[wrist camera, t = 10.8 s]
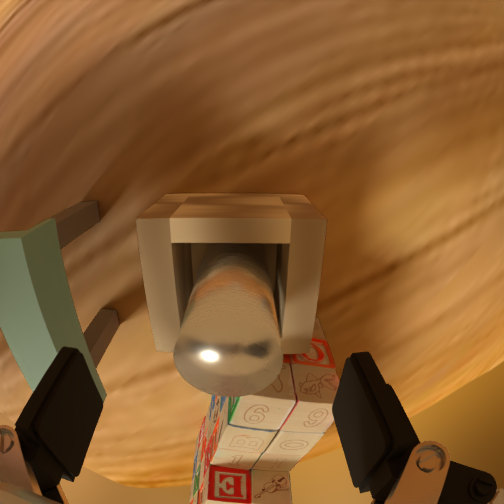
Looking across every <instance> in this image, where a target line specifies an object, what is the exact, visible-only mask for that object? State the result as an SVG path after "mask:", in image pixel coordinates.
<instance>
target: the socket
mask: <svg viewBox="0 0 504 504" xmlns="http://www.w3.org/2000/svg"><path fill="white" fill-rule="evenodd" d="M136 227H137V236H138V245H139V253H140V261H141V268H142V275H143V282H144V288H145V294H146V300H147V306H148V311H149V317H150V322H151V327H152V332H153V337H154V342H155V346H156V351H163V352H174V347H175V344H176V340H177V337H178V334H179V331H180V327H181V324H182V321H183V318H184V315H185V311H186V308H187V305H188V302H189V299H190V296H191V293H192V290H193V286H194V283H195V280H196V277H197V274H198V271H199V268H200V265H201V262H202V259H203V256H204V253H205V251H206V248H207V245H208V243H263V245H264V247H265V250H266V256H267V262H268V268H269V274H270V280H271V286H272V292H273V298H274V304H275V310H276V317H277V323H278V329H279V335H280V342H281V348H282V354H302V353H309V352H310V347H311V341H312V335H313V328H314V322H315V316H316V309H317V302H318V295H319V287H320V280H321V272H322V264H323V255H324V246H325V237H326V227H327V219H326V218H325V217H324V216H323V215H322V214H321V213H320V212H319V210H318V209H317V208H316V207H315V206H314V205H313V204H312V203H311V202H310V201H309V200H308V199H307V198H306V197H305V196H304V195H301V194H265V193H186V194H166V195H164V196H163V197H162V198H161V199H159V200H158V201H157V202H156V203H154V204H153V205H152V206H151V207H149V208H148V209H147V210H146V211H145V212H143V213H142V214H141V215H140V216H138V217H137V218H136Z"/></svg>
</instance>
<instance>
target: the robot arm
mask: <svg viewBox="0 0 504 504" xmlns="http://www.w3.org/2000/svg"><path fill="white" fill-rule="evenodd" d="M102 409H103V400H102V398H101V396H100V394H99V391H98V389H97V387H96V385H95V382H94V380H93V378H92V375H91V373H90V370H89V368H88V366H87V363H86V360H85V358H84V355H83V354H82V353H80V351H79V350H78V349H77V348H72V347H66V346H64V347H62V348H61V349H60V351H59V352H58V354H57V355H56V357H55V358H54V360H53V362H52V363H51V365H50V366H49V368H48V369H47V371H46V372H45V374H44V376H43V377H42V379H41V380H40V382H39V384H38V385H37V387H36V389H35V390H34V392H33V394H32V395H31V397H30V399H29V400H28V402H27V404H26V406H25V407H24V409H23V411H22V413H21V414H20V416H19V418H18V420H17V422H16V423H15V426H16V428H15V430H14V429H13V428H12V427H10V426H7V425H0V504H69V503H68V501H67V499H66V497H65V494H64V492H63V490H62V488H61V485H60V480H61V478H63V479H66V480H69V481H72V482H74V479H75V477H77V476H78V475H79V474H80V471H81V468H82V465H83V462H84V459H85V456H86V453H87V450H88V447H89V444H90V442H91V439H92V436H93V433H94V431H95V428H96V425H97V423H98V420H99V417H100V415H101V412H102ZM332 414H333V417H334V420H335V424H336V427H337V430H338V434H339V437H340V441H341V444H342V447H343V451H344V454H345V457H346V461H347V464H348V468H349V471H350V475H351V478H352V482H353V485H354V487H356V488H357V487H359V490H360V493H363V492H368V491H370V492H371V495H372V498H373V501H372V502H371V504H504V489H502V488H501V489H500V490H497V486H496V481H495V479H494V477H493V476H492V475H491V474H489V473H487V472H484V471H480V470H477V469H474V468H471V467H468V466H465V465H462V464H459V463H456V462H453V461H450V455H449V452H448V450H447V449H446V447H444V446H443V445H442V444H440V443H438V442H435V441H424V442H422V443H420V441H419V439H418V437H417V435H416V433H415V431H414V429H413V427H412V425H411V423H410V421H409V419H408V417H407V415H406V413H405V411H404V409H403V407H402V405H401V403H400V401H399V399H398V397H397V395H396V393H395V392H394V390H393V388H392V387H391V385H389V384H386V383H385V381H384V379H383V377H382V375H381V373H380V371H379V369H378V367H377V366H376V364H375V362H374V360H373V358H372V356H371V354H370V353H369V352H359V353H352V355H351V357H350V358H347V359H346V362H345V365H344V369H343V372H342V376H341V379H340V383H339V386H338V389H337V393H336V396H335V399H334V402H333V405H332Z"/></svg>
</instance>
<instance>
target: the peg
mask: <svg viewBox="0 0 504 504" xmlns="http://www.w3.org/2000/svg"><path fill="white" fill-rule="evenodd" d="M173 356H174V362H175V365H176V368H177V370H178V371H179V373H180V375H181V376H182V377H183V378H184V379H185V380H186V381H187V382H188V383H189V384H191V385H192V386H194V387H195V388H197V389H199V390H201V391H203V392H206V393H208V394H212V395H216V396H222V397H240V396H246V395H250V394H253V393H256V392H258V391H261V390H262V389H264V388H266V387H267V386H269V385H270V384H271V383H272V382H273V381H274V380H275V379H276V378H277V376H278V375H279V373H280V371H281V368H282V364H283V354H282V348H281V342H280V335H279V329H278V323H277V317H276V310H275V304H274V298H273V292H272V286H271V280H270V274H269V268H268V262H267V256H266V250H265V247H264V245H263V243H208V245H207V248H206V251H205V253H204V256H203V259H202V262H201V265H200V268H199V271H198V274H197V277H196V280H195V283H194V286H193V290H192V293H191V296H190V299H189V302H188V305H187V308H186V311H185V315H184V318H183V321H182V324H181V327H180V331H179V334H178V337H177V340H176V344H175V347H174V354H173Z"/></svg>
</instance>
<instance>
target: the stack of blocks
mask: <svg viewBox="0 0 504 504" xmlns="http://www.w3.org/2000/svg"><path fill="white" fill-rule="evenodd" d="M335 369H336V365H335V362H334V359H333V356H332V353H331V351H330V348H329V345H328V343H327V341H326V338H325V335H324V332H323V330H322V327H321V324H320V322H319V319H318V317H315V322H314V328H313V335H312V341H311V347H310V352H309V353H302V354H283V364H282V368H281V371H280V373H279V375H278V376H277V378H276V379H275V380H274V381H273V382H272V383H271V384H270V385H269V386H267V387H266V388H264V389H262V390H261V391H258V392H256V393H253V394H250V395H246V396H240V397H222V396H216V395H213V396H212V399H211V402H210V405H209V408H208V411H207V414H206V416H205V418H204V421H203V423H202V426H201V429H200V431H199V434H198V437H197V440H196V446H195V454H194V469H193V478H192V484H191V493H190V504H292V495H291V484H290V475H289V471H290V470H291V469H292V468H293V467H294V466H295V465H296V464H297V463H298V462H299V461H300V460H301V459H302V458H303V456H304V455H306V454H307V453H308V452H309V451H310V450H311V449H312V448H313V447H314V445H315V444H316V443H317V442H318V441H319V440H320V439H321V437H322V436H323V435H324V434H325V431H326V430H327V429H328V428H329V427H330V425H331V424H332V423H333V421H334V417H333V414H332V405H333V402H334V399H335V396H336V393H337V389H338V386H339V379H338V376H337V374H336V371H335Z"/></svg>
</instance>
